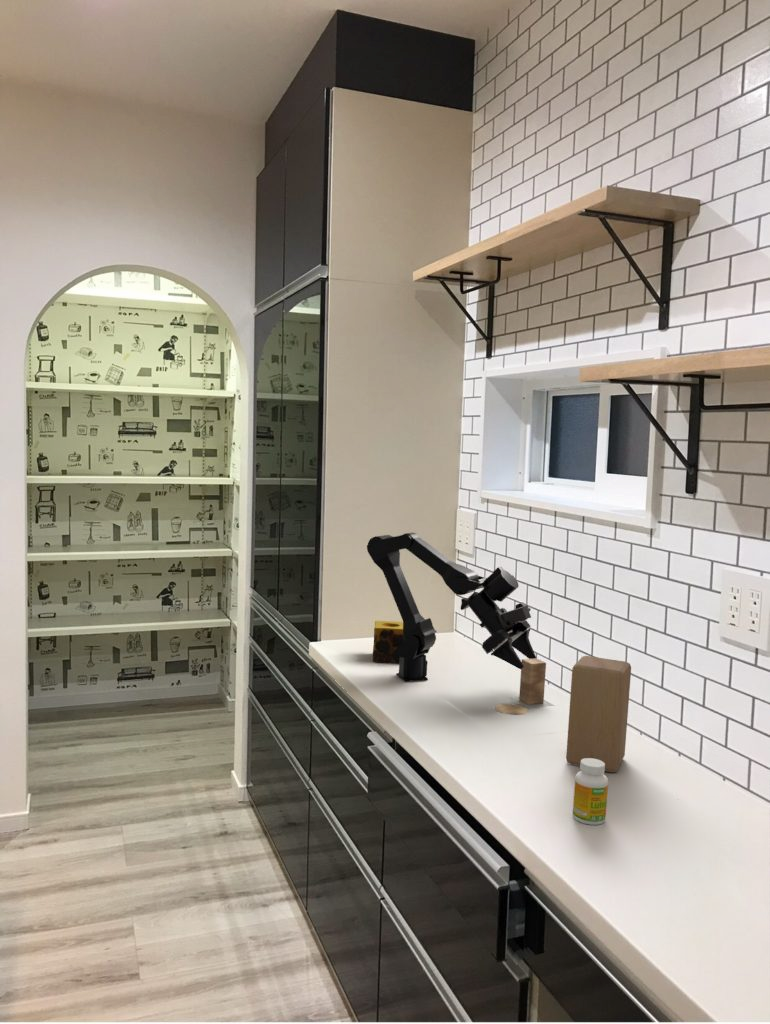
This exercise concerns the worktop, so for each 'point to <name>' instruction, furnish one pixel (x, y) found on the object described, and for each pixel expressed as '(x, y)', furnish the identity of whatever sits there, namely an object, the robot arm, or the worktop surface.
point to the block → (598, 711)
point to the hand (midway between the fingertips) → (528, 664)
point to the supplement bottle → (590, 792)
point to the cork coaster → (511, 709)
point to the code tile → (545, 703)
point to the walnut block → (532, 681)
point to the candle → (387, 641)
